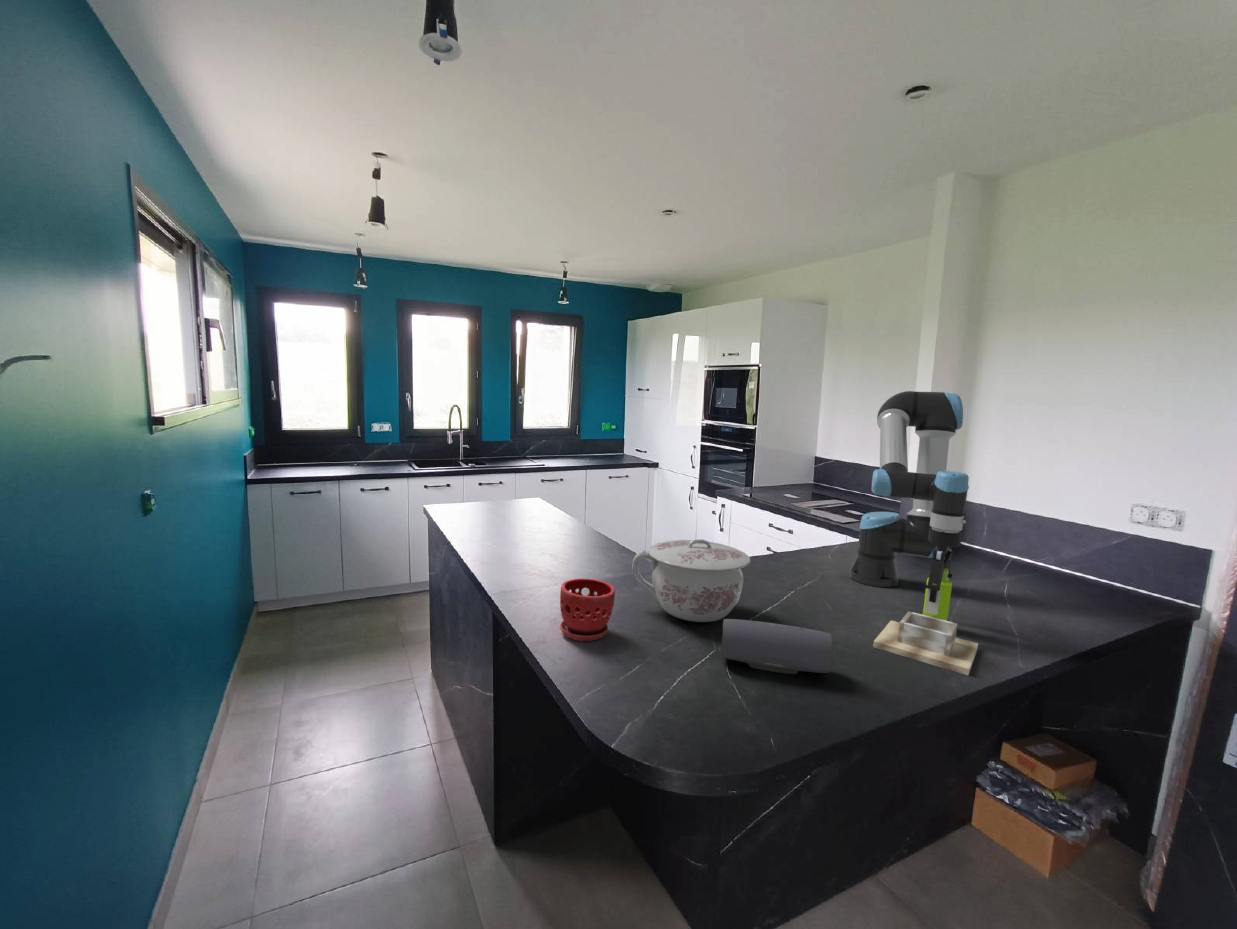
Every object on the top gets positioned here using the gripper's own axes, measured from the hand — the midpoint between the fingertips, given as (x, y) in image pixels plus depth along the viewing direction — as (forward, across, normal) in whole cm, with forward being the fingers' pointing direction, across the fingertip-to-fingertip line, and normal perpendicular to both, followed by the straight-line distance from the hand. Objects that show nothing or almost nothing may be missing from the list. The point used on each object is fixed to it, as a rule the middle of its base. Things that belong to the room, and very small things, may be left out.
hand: (935, 606), depth 150 cm
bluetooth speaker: (+6, -54, +23) cm, 59 cm away
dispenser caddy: (+6, -17, -1) cm, 18 cm away
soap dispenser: (+6, 0, 0) cm, 6 cm away
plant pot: (+6, -70, +64) cm, 95 cm away
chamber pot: (+6, -39, +52) cm, 65 cm away
